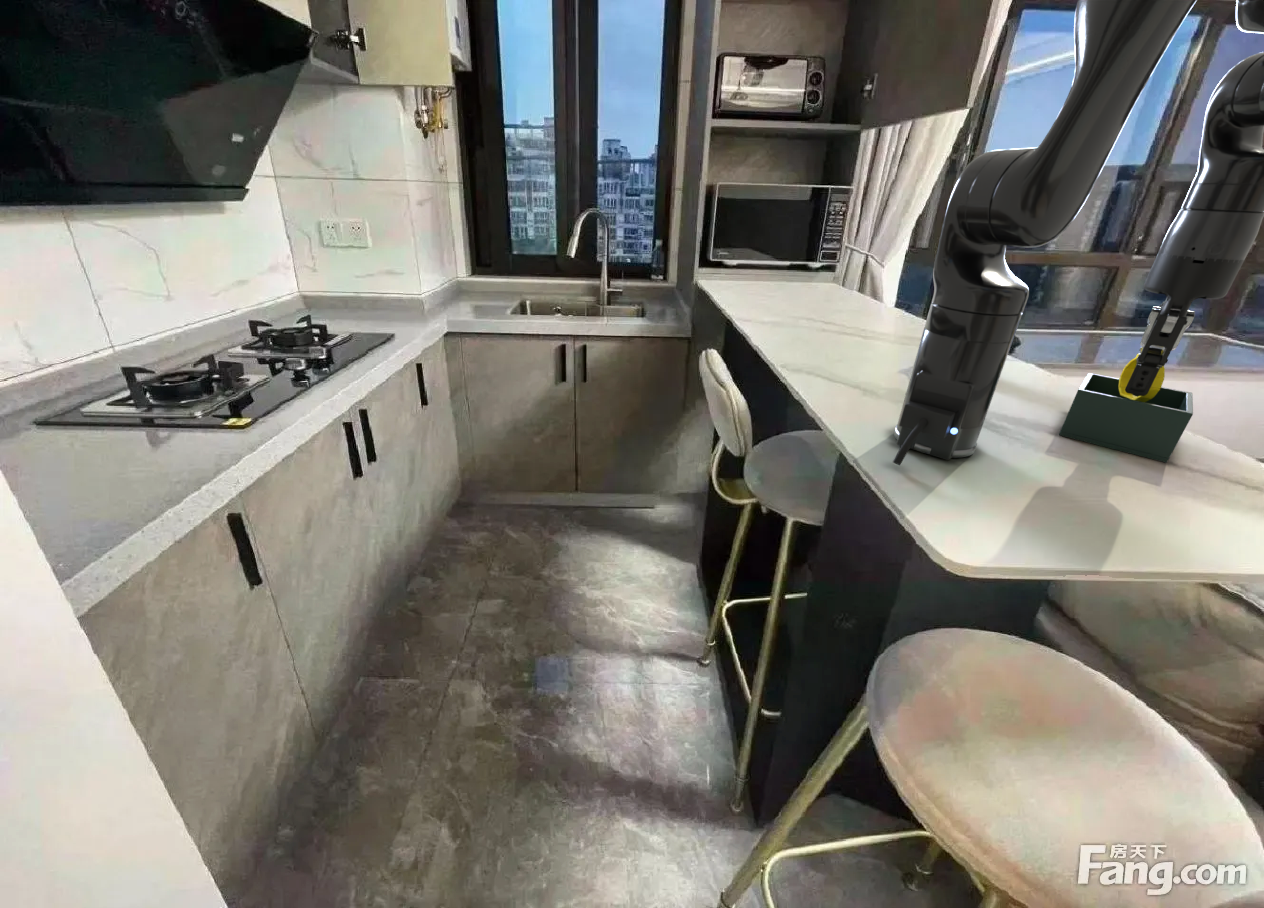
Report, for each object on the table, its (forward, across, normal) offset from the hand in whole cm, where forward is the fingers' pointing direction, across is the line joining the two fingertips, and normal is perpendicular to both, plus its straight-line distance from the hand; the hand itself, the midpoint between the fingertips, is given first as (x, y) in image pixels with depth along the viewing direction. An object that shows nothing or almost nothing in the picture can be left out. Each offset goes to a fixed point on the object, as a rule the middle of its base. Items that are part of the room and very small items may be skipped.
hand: (1136, 388), depth 71 cm
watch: (+2, 0, 0) cm, 2 cm away
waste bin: (+7, 0, 0) cm, 7 cm away
